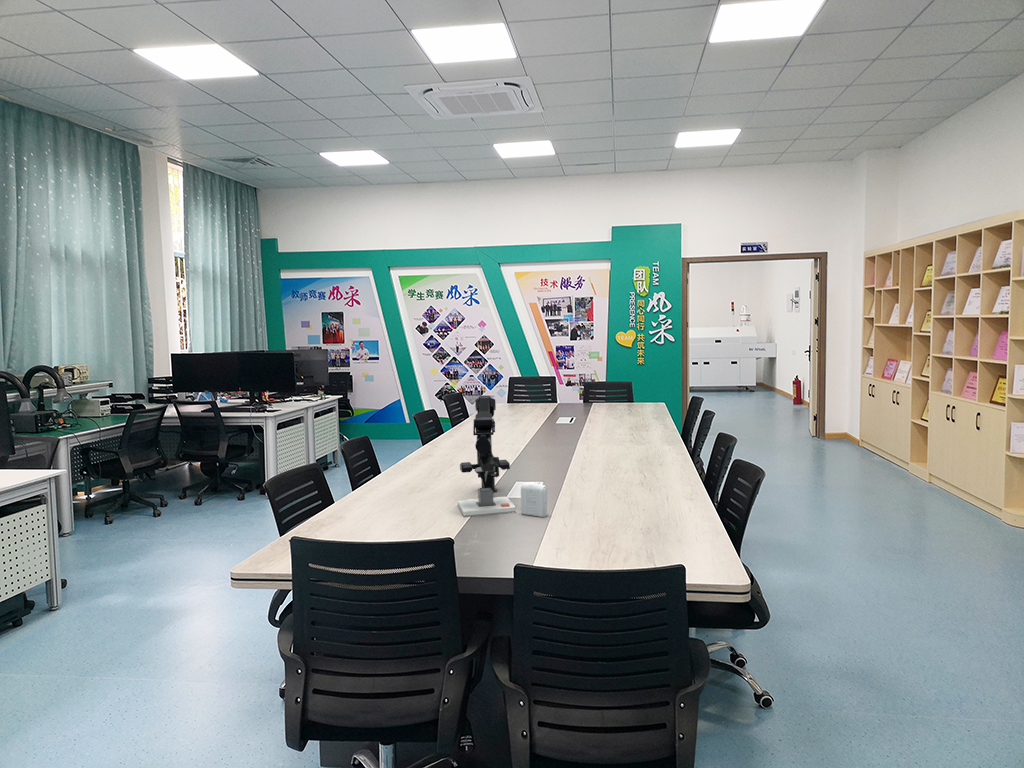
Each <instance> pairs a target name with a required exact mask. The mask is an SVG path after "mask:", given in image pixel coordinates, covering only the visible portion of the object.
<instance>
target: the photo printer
mask: <svg viewBox="0 0 1024 768" xmlns="http://www.w3.org/2000/svg"><path fill="white" fill-rule="evenodd" d="M520 512H521V514H522V515H527V516H534V517H538V518H539V517H540V518H544V517H547V515H548V488H547V486H546V485H544V484H542V483H540V482H536V481H535V482H534V481H529V482H528V481H527V482H524V483H521V486H520Z"/></svg>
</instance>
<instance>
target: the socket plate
mask: <svg viewBox="0 0 1024 768" xmlns="http://www.w3.org/2000/svg"><path fill="white" fill-rule="evenodd" d="M457 507H458V509H459V511H460V512H461V513H460V514H461V515H462V517H463V518H466V517H476V516H477V517H478V516H479V517H480V516H488V515H489V516H490V515H499V514H500V515H501V513H502V514H511V513H512V512H514V513H517V512H516V510H517V509H516V506H515V505H514V503H513V502H512V501H511V500H510V498H508V496H497V497H494V496H493V506H484V507H479V504H478V498H473V499H471V498H470V499H460V500H457Z"/></svg>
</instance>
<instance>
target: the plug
mask: <svg viewBox="0 0 1024 768" xmlns="http://www.w3.org/2000/svg"><path fill="white" fill-rule="evenodd" d="M480 488H481V489H480ZM480 488H477V497H478V498H477V499H478V504H479V507H484V506H493V498H494V492H493V490H492V489H491V488H482V487H480Z"/></svg>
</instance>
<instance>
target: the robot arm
mask: <svg viewBox="0 0 1024 768" xmlns="http://www.w3.org/2000/svg"><path fill="white" fill-rule="evenodd" d="M474 404H475V405H474V407H475V411H477V413H476V414H475V417H474V418H473V429H472V430H473V436H476V442H475V444H474V445H475V450H476V457H477V458H476V461H477V463H474V464H472V462H470V461H467V462H466V461H465V462H461V463H460V464H459V471H460V472H461V473H463V474H464V473H471V472H472V471H473V470H474V472H475V473H476V474H477V478H480V479H481V487H479V489H481V488H491V489H492V490H493V493H494V492H497V491H498V489H497V488H496V482H495V481H496V480H495V479H496V478H498V477H500V469H501V470H503V471H505V470H510V469H511V467H510V465H511V464H510V462H509V461H508V460H507V459H500V458H499V456H494V454H493V449H492V447H493V445H492V436H493V435H494V433H496V422H495V419H494V415H495V411H496V409H497V406H496V399H495V398H493V397H492V396H491V395H479V396H478V398H476V399H475V403H474Z"/></svg>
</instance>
